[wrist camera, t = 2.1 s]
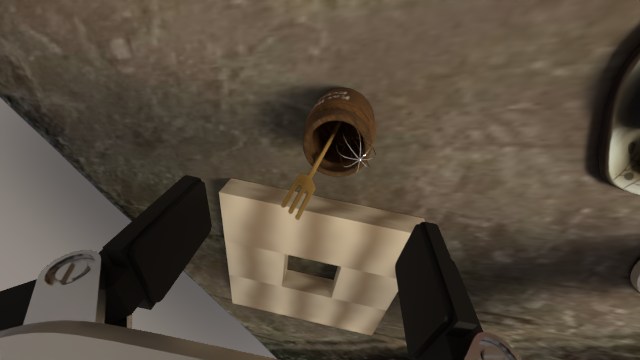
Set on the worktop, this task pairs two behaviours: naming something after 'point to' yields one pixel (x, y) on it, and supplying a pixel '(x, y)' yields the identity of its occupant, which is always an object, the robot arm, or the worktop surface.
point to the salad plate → (622, 129)
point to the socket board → (312, 255)
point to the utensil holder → (334, 140)
